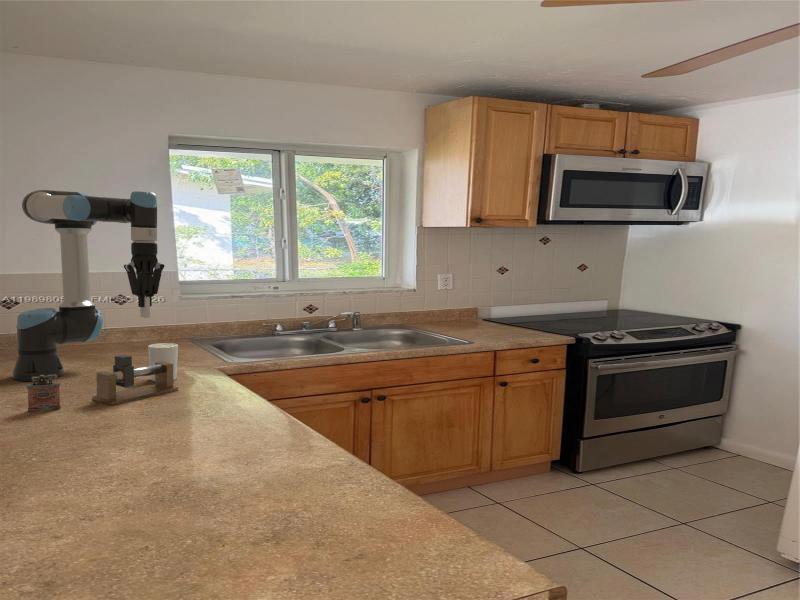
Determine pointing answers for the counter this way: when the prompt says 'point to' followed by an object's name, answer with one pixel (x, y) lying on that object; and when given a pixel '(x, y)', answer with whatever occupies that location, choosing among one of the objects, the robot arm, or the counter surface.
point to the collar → (124, 370)
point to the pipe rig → (161, 386)
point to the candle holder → (164, 355)
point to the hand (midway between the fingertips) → (145, 317)
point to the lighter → (43, 394)
